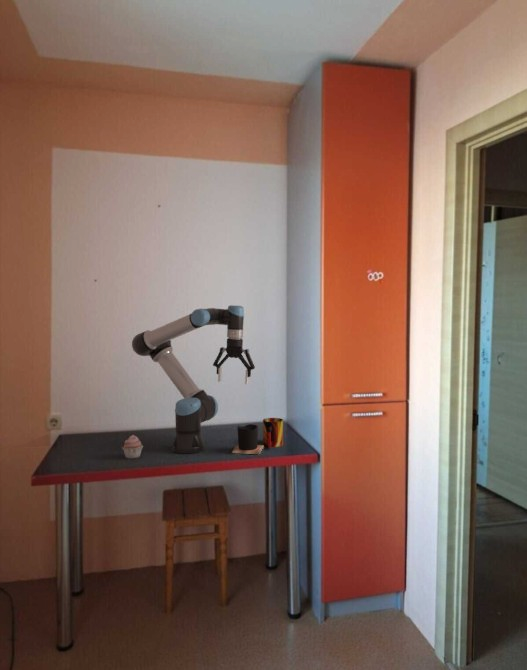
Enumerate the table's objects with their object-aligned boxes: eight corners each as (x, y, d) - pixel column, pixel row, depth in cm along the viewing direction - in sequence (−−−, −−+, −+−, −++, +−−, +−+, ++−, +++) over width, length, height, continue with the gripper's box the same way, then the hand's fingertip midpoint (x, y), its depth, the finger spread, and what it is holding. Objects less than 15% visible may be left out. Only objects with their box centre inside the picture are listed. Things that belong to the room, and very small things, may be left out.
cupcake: (126, 461, 219) (126, 438, 218) (119, 456, 226) (118, 434, 226) (147, 457, 224) (146, 435, 224) (138, 452, 232) (138, 431, 231)
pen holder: (255, 451, 227) (255, 429, 227) (235, 450, 229) (235, 428, 229) (259, 445, 237) (259, 424, 236) (240, 444, 238) (240, 423, 238)
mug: (268, 450, 234) (268, 424, 233) (260, 442, 247) (260, 418, 247) (288, 448, 236) (288, 423, 236) (279, 441, 250) (279, 417, 249)
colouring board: (232, 454, 228) (232, 451, 228) (238, 446, 240) (237, 443, 240) (259, 455, 226) (259, 452, 226) (263, 447, 238) (263, 444, 238)
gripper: (207, 337, 238) (205, 381, 240) (258, 340, 232) (256, 386, 234) (212, 335, 245) (211, 378, 248) (262, 339, 239) (260, 383, 241)
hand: (233, 382), depth 241 cm, fingers open, 13 cm apart
